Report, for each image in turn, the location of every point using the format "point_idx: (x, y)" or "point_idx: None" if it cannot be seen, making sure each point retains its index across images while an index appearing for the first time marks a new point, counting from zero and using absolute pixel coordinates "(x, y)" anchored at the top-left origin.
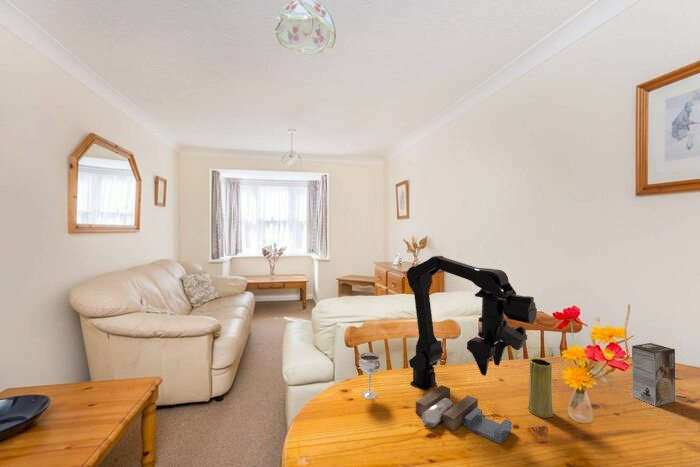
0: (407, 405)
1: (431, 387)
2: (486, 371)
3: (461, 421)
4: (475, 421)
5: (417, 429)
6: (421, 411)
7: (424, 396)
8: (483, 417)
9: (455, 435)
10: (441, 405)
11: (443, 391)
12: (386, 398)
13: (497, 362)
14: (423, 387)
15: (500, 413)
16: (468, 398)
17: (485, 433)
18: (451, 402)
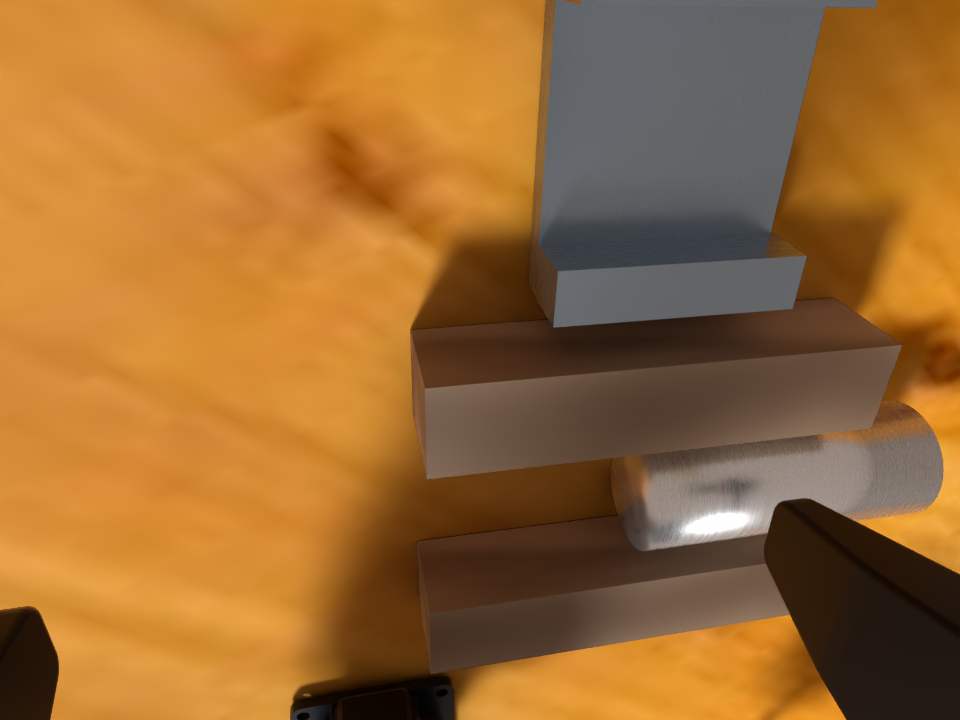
0: None
1: (382, 688)
2: (881, 550)
3: (729, 318)
4: (680, 240)
5: None
6: None
7: (699, 626)
8: (548, 226)
9: (874, 264)
10: (791, 496)
11: (524, 610)
12: (704, 708)
13: (15, 693)
14: (442, 707)
15: (279, 155)
16: (485, 443)
17: (796, 96)
18: (665, 485)
